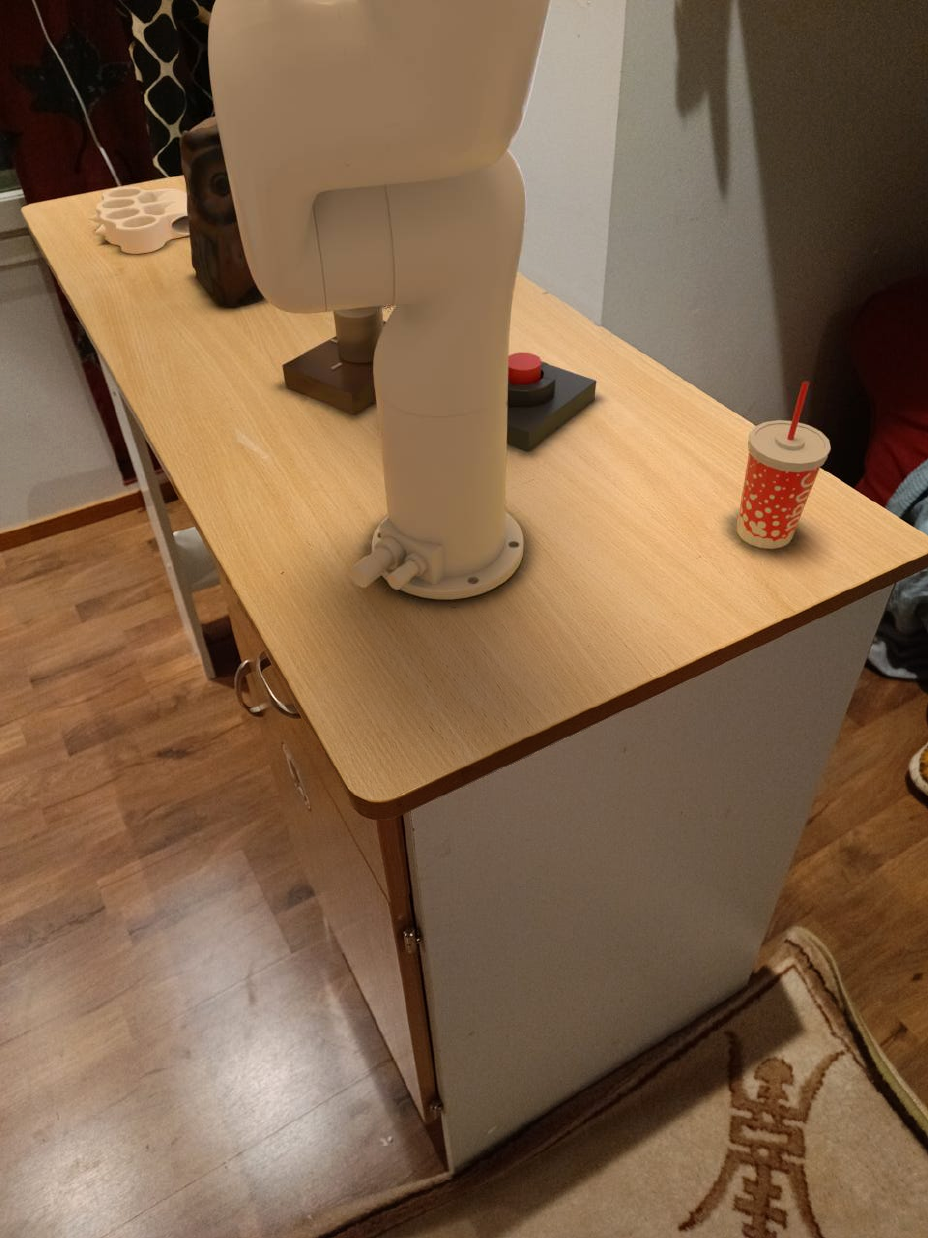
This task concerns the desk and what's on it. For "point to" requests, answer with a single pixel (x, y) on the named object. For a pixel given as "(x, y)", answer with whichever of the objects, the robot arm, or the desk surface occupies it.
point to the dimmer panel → (332, 378)
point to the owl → (214, 219)
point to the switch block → (545, 405)
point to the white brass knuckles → (142, 218)
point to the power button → (524, 368)
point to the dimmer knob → (358, 333)
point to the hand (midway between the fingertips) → (380, 239)
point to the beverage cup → (779, 478)
